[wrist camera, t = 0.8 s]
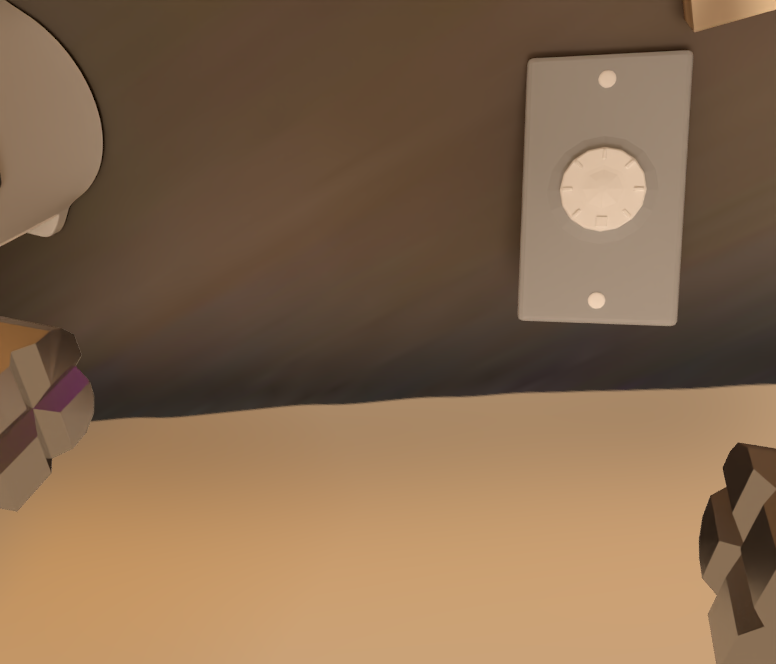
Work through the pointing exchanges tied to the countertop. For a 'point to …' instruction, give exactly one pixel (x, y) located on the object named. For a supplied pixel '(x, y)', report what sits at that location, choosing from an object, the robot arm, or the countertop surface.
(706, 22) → the wooden frame
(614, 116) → the light switch
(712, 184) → the countertop surface
